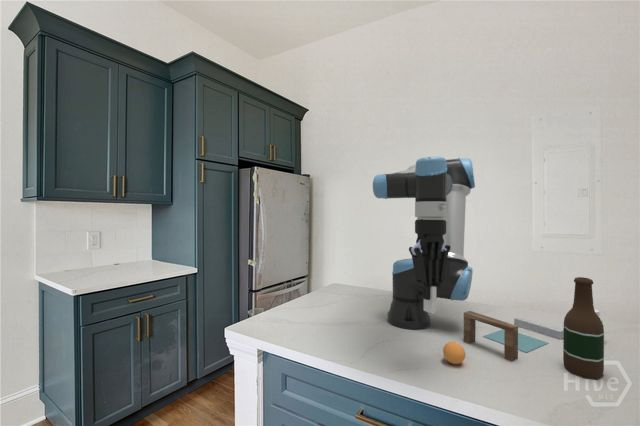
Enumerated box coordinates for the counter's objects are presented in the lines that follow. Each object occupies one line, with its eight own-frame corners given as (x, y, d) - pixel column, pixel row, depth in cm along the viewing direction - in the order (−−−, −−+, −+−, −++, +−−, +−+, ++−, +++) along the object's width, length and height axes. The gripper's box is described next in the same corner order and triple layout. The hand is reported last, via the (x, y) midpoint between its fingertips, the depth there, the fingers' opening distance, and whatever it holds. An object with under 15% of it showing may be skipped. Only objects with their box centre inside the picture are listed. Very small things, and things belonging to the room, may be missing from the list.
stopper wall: (514, 325, 108) (514, 318, 108) (517, 324, 109) (517, 317, 109) (560, 339, 96) (560, 331, 96) (563, 338, 97) (563, 330, 97)
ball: (438, 360, 82) (438, 340, 82) (451, 356, 85) (451, 336, 85) (456, 370, 77) (456, 348, 77) (469, 364, 80) (469, 344, 80)
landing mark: (483, 336, 98) (483, 336, 98) (505, 329, 104) (505, 328, 104) (526, 352, 87) (526, 352, 87) (548, 343, 93) (548, 342, 93)
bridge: (511, 361, 82) (512, 327, 82) (463, 341, 94) (463, 312, 94) (517, 358, 83) (518, 325, 83) (469, 339, 96) (469, 310, 96)
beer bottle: (555, 364, 80) (556, 275, 80) (582, 363, 81) (582, 274, 81) (583, 381, 72) (584, 282, 72) (612, 379, 73) (613, 281, 73)
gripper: (424, 219, 70) (423, 320, 69) (460, 219, 76) (459, 312, 76) (400, 218, 76) (400, 311, 76) (435, 218, 82) (435, 304, 82)
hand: (429, 311), depth 76 cm, fingers closed
